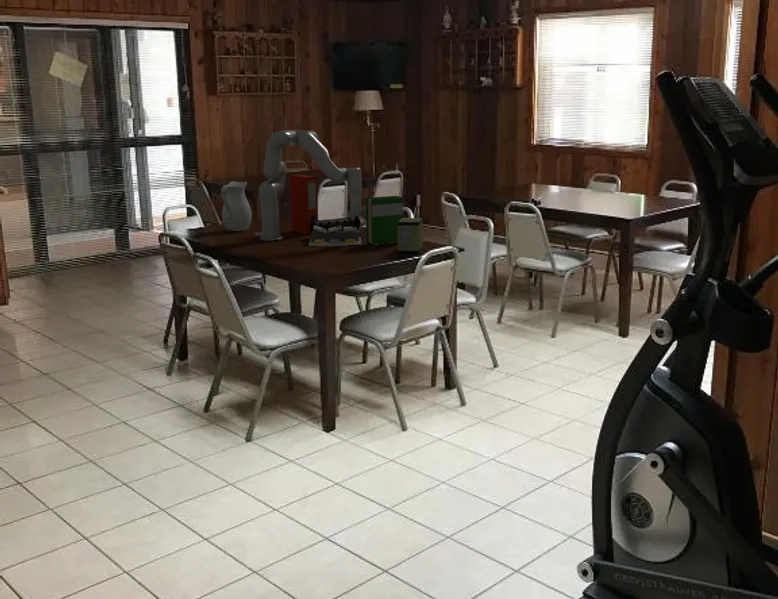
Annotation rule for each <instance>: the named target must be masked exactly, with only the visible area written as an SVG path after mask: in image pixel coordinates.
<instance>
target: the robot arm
mask: <svg viewBox="0 0 778 599" xmlns="http://www.w3.org/2000/svg"><path fill="white" fill-rule="evenodd" d="M319 138H320V137H319V135H318V134H317V132H315V131H314V130H304V129H303V130H299V129H285V130H279V131H275V132H274V133H273V134H271V135H270V136H269V138H268V139H267V143H266V151H265V157H264V162H263V175H264V176H265V178H267V179H268V180H265V181H264V182H262V183H260V185H259V188H258V196H259V202H260V213H261V214H260V216H261V231H259V232H257V231H256V232H253V236H254V237H259V241H262V240H263V241H264V242H275V241H274V240H278V241H281V239H282V240H283V239H284V236H282V235H281V232H280V231H281V230H280V229H281V227H280V226H281V225H280V208H279V207H280V205H279V200H278V197H280V196H282V194H283V193H284V191H285V184H286V177H287V166H286V164H285V162H283V161H282V157H283V150H282V149H283V148H285V147H286V148H287V147H301V148H302V149H303V150H304V151H305V152H306V153H307V154H308V155H309V156H310V157H311V158H312V159H313V160H314V161H315V163H316V165H317V166H318V168H319V169H320V171H321V172H322V173H323V174H324V176H325V177H327V179H328V180H330V181H331V182H332V183H334V184H340V183H345V182H347V195H348V196H350V199H349V200H350V201H349V202H350V204H349V205H350V214H353V216H354V227H360V221H361V219H360V213H361V208H362V207H361V206H362V204H361V202H362V200H361V196H362V195H363V177H362V169H361V168H360V167H350V168H349V167H337V166H336V165H335V163H334V162H333V161H332V160H331V158H330V155H329V151H328V149H327V148H326V146H324V145H323V144H322V143H321V142H320V141H319ZM263 241H262V242H263Z"/></svg>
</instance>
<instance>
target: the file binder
mask: <svg viewBox="0 0 778 599" xmlns="http://www.w3.org/2000/svg"><path fill="white" fill-rule="evenodd" d="M289 189H290V190H289V192H290V193H289V197H290V201H289V202H290V223H291V224H290V226H291V230H292V231H291V230H290V231H291V232H294V231H296V232H295V233H298V232H299V233H298V234H302V233H303V234H302V235H306V234H310V235H311V233H310V223H311V222H312V221H319V204H318V203H319V202H318V200H319V196H318V194H319V193H318V192H319V191H318V176H313V175H306V174H292V175H289Z"/></svg>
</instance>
